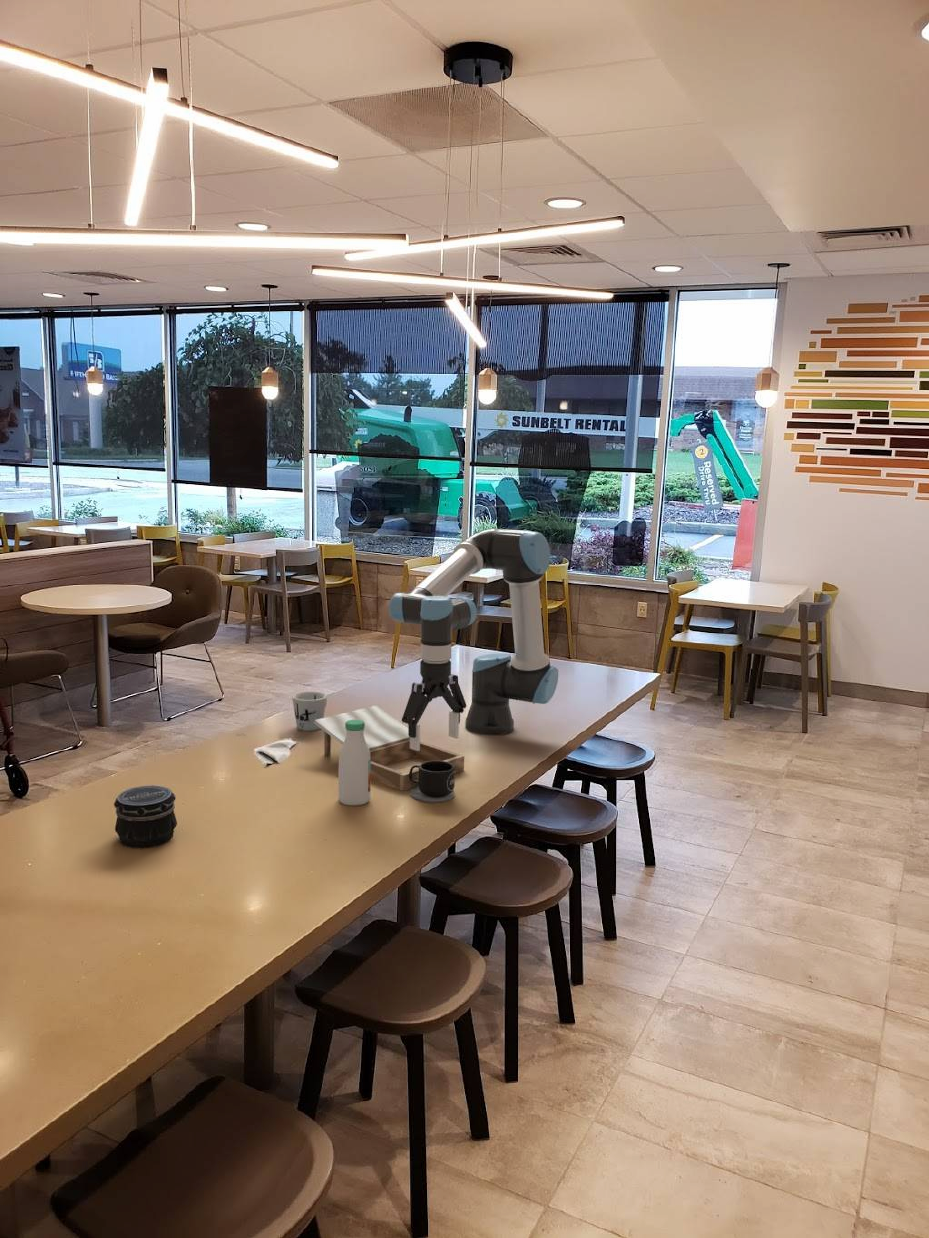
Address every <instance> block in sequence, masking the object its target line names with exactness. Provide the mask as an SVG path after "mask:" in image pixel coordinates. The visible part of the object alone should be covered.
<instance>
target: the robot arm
mask: <svg viewBox="0 0 929 1238" xmlns="http://www.w3.org/2000/svg"><path fill="white" fill-rule="evenodd" d="M550 560H551V551H550V545H549V542H548V540H547V538H546V537H545V536H544V535H543V533H541V532H538V531H531V530H528V529H525V530H519V529H507V528H506V529H503V528H495V527H494V528H488V529H483V530H480V531H479V532H475V533H474V534H472V535H470V536H469V537H466V538H465V539H463V540H462V541H461V542H459V544H457V545H456V546H455V547H454V549H453V552H452V554H451V555H450V556H449V557H448V558H447V559H445V560H444V561H443V562H442V563H441V564H440V565H439V566H438V567H437V568H436V569H434V570H433V571H432V572H431V573H430V574H428V576H427V577H425V578H424V579H423V580H422V581H420V583H418V584H417V585H416V586H415V587H413V589H412V590H411V591H410V592H408V593H406V592H396V593H394V594H393V595H392V596H391V598H390V600H389V604H388V612H389V617H391V619H392V620H393V621H395V622H399V623H404V624H413V625H420V659H421V660H420V661H419V663H420V665H419V667H420V668H419V669H420V670H419V672H420V673H419V674H420V675H421V679H422V680H421V683H420V682H419V683H418V682H413V683H412V684H411V691H410V695H409V698H408V700H407V703H406V706H405V709H404V712H403V715H402V717H401V723H405V724H407V726H408V727H407V728H408V732H409V733H408V735H409V737H410V749H413V750H416V751H419V750H420V742H421V724H419V721H420V720H421V718H422V716H423V714H424V712H425V711H426V709H427V707H428V704H429V703H431V702H432V701H433V699H437V698H439V697H440V698H441V697H442V698H443V700H444V701H445V702H446V704H447V705H448V706H449V708H450V709H451V710H449V711H448V712H449V713H448V737H450V738H454V739H458V738H459V731H460V730H459V728H460V727H459V726H460V722H461V714H463V713H464V711H465V710H464V709H466V708H467V702H466V700H465V698H464V695H463V692H462V689H461V687H460V684H459V676H458V675H456V674H453V673H452V662H451V659H452V635H453V634H452V633H453V632H454V631H457V630H460V629H464V628H465V629H466V628H467V627H468V626H469V625H472V624H473V623H474V621H476V619H477V616H478V610H477V607H476V603H475V602H474V601H473V600H472V599H471V598H468V597H465V596H462V597H461V596H460V597H459V596H458V597H455V598H451V597H450V596H449V595H451V594H452V593H453V592H454V591H455V590H457V588H458V587H459V586H460V585H461V584H462V583H463V582H464V581H466V579H468V578H469V576H471V575H475V574H478V573H479V572H480V571H481V570H487V569H491V570H498V571H502V578H503V580H504V581H505V583H507V584H508V586H509V598H510V599H509V600H510V608H511V609H510V610H511V621H512V622H511V623H512V632H513V642H514V643H513V644H514V653H515V655H514V656H513V657H512V656H511V655H510V654H508V653H489V654H483V655H479V656H477V657H475V658H474V660H473V662H472V671H471V679H472V680H471V703H470V707H469V710H468V713H467V716H466V718H465V722H464V723H465V724H464V727H465V729H466V730H467V731H469V732H471V733H474V734H480V735H491V736H492V735H493V736H495V735H504V734H505V735H506V734H509V733H511V732H512V731H514V727H515V721H514V719H513V716H512V711H511V706H510V700H513V701H514V700H515V701H521V702H527V703H532V704H534V705H535V704H540V705H541V704H542V705H545V704H548V703H549V702H550V701H551V699H552V698H553V696H554V695H555V693H556V689H557V686H558V683H559V681H558V680H559V669H558V668H557V667H556V666H553V665H551V660H550V656H549V655H548V654H546V653H545V649H544V635H543V634H544V633H543V621H542V620H543V619H542V610H541V609H542V606H541V605H542V604H541V593H540V581H541V580H542V579H543V578H544V574H545V573H546V572H547V571H548V569H549V567H550Z"/></svg>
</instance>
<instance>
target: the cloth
mask: <svg viewBox="0 0 929 1238" xmlns="http://www.w3.org/2000/svg"><path fill="white" fill-rule="evenodd" d="M296 744H298V742H297V741H295V740H293V738H292V737H289V738H284V739H281V740H277V741H274V742H272V743H268V744H264V745H263V746H259V747H256V748H254V749H252V751H253V754H254V755H255V756H256V758H257V759H258V761H259V762H261V764H262V765H263V766H264V768H266V769H267V765H268V764H271V765H272V764H274V763H275V762H277V763H278V764H281V763H282V762H283V761H285V760H286V759H287V758H288V757H290V756H291V748H292V746H294V745H296Z"/></svg>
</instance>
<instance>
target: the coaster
mask: <svg viewBox="0 0 929 1238" xmlns="http://www.w3.org/2000/svg"><path fill="white" fill-rule="evenodd" d="M455 795H456V794H455V789H453V791H452V793H450V794H449V795H446V796H443V797H430V796H427V795H425V794H423V793H421V791H420V789H419V786H416V787H413V788H411V789H410V796H411V798H412V799H414V800H416V801H419V802H423V803H442V802H447V801H450V800H452V799H453V798H454V797H455Z"/></svg>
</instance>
